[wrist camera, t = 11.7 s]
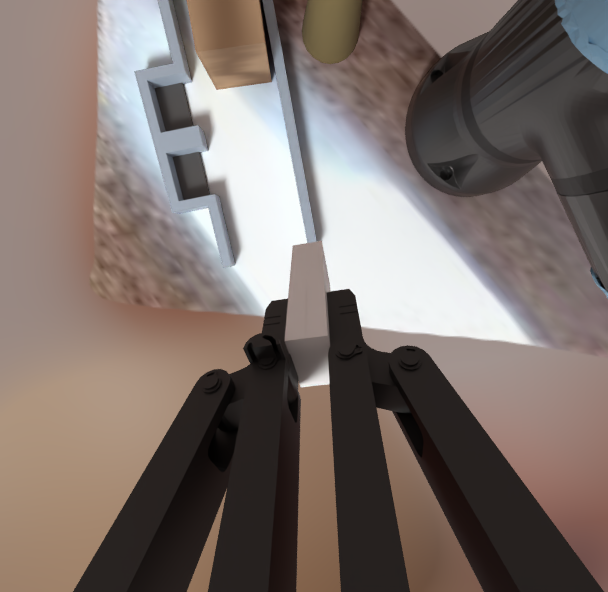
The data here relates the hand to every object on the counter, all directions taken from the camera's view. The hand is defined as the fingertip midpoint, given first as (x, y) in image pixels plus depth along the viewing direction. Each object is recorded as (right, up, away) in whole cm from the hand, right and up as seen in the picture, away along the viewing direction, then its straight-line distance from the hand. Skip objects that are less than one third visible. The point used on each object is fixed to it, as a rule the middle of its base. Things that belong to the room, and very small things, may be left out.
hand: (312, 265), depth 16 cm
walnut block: (-8, +26, +16) cm, 31 cm away
